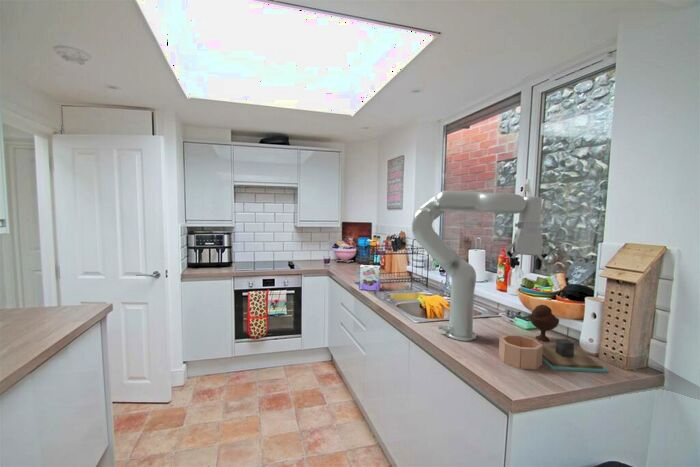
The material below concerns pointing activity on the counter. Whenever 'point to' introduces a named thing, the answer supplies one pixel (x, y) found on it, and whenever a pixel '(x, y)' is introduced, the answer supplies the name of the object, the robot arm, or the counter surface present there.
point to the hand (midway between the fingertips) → (525, 268)
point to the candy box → (369, 277)
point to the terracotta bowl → (520, 351)
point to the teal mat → (574, 368)
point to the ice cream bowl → (543, 321)
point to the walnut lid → (568, 355)
